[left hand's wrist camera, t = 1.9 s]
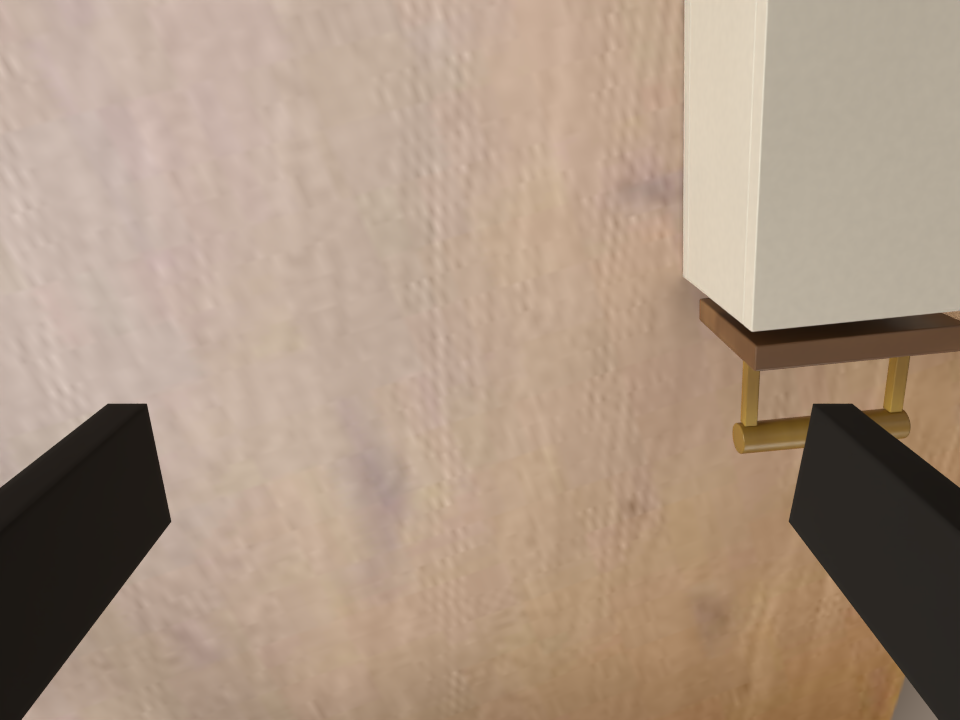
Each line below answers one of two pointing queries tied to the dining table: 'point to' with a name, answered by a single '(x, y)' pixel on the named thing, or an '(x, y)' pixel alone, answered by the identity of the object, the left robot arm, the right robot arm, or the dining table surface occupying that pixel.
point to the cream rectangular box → (822, 158)
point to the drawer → (821, 348)
